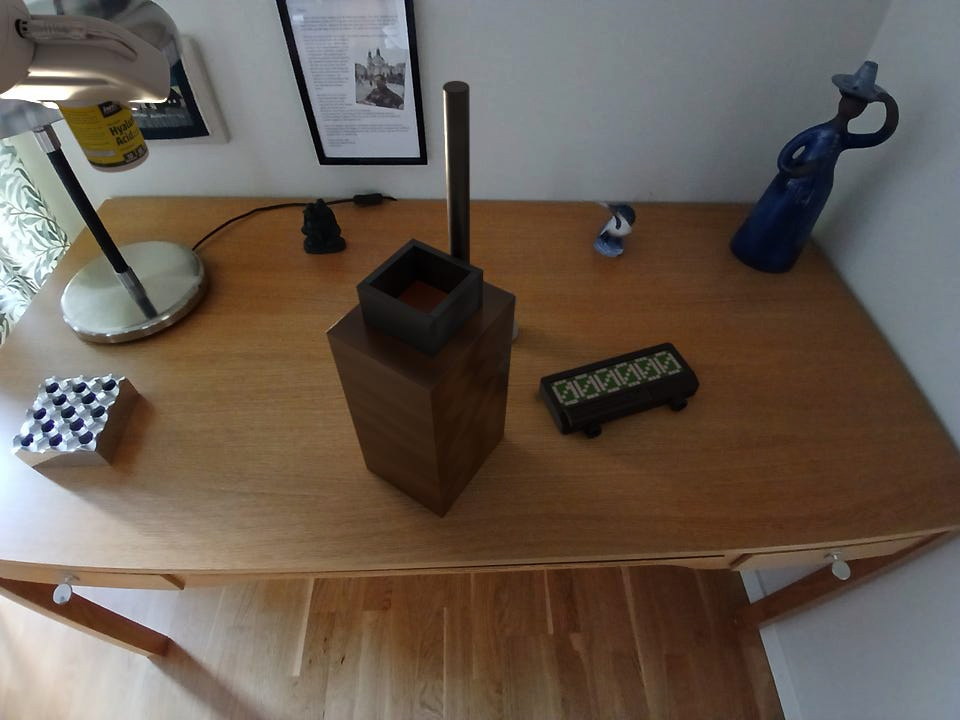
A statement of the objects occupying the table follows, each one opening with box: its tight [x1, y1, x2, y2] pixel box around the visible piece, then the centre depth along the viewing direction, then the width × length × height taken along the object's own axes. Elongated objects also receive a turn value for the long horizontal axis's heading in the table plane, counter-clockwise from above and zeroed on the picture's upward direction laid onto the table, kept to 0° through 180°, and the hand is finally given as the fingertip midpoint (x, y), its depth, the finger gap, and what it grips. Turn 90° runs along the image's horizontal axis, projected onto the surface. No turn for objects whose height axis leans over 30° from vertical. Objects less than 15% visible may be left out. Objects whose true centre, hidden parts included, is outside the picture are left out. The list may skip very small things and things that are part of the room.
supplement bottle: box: [54, 100, 150, 174], centre depth 51 cm, size 5×5×10 cm
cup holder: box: [325, 80, 517, 519], centre depth 55 cm, size 14×12×45 cm
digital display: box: [538, 341, 700, 439], centre depth 78 cm, size 21×3×10 cm
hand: (95, 100), depth 51 cm, fingers closed on supplement bottle, 5 cm apart
